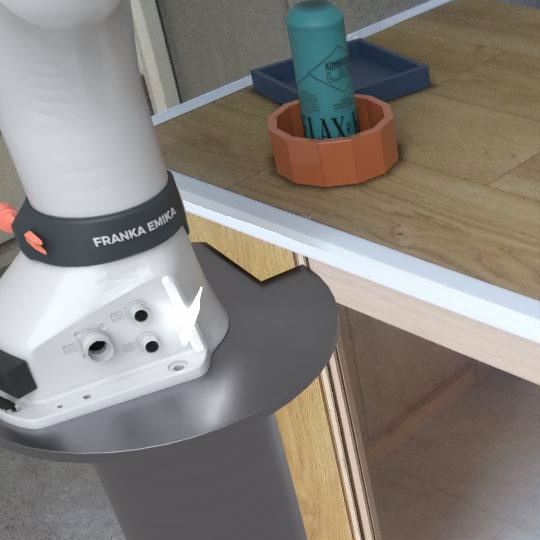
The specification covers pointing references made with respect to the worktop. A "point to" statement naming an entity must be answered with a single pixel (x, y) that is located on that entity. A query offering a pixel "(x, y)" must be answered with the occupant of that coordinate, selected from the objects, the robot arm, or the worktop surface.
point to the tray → (363, 74)
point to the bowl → (334, 146)
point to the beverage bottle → (322, 70)
